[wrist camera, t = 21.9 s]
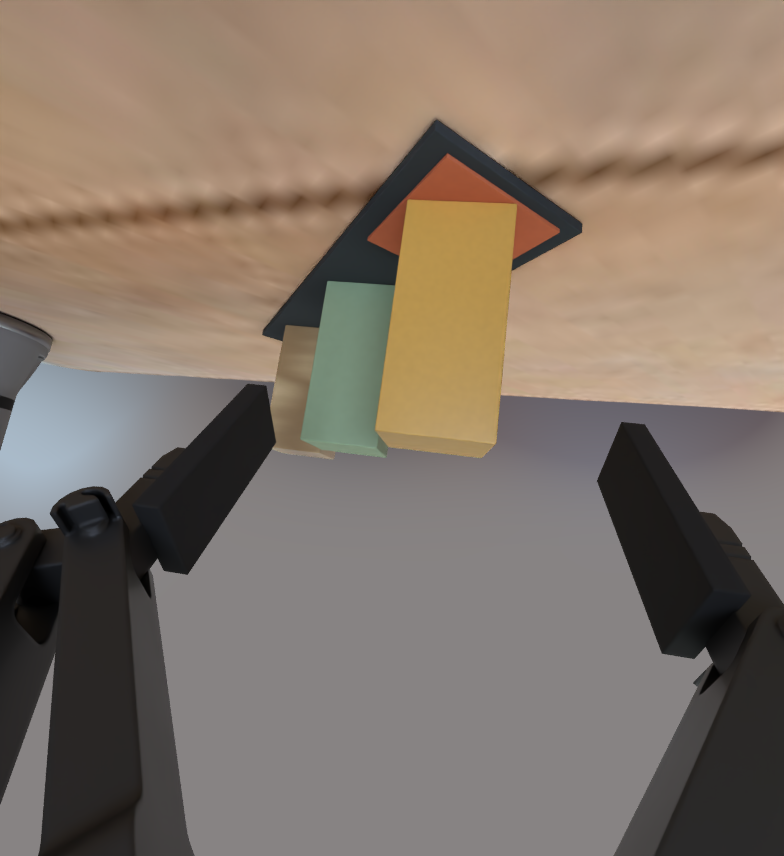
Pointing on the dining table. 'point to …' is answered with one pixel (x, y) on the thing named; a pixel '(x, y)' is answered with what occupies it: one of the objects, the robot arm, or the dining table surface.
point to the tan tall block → (294, 392)
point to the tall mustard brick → (448, 328)
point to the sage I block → (349, 369)
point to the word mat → (384, 218)
